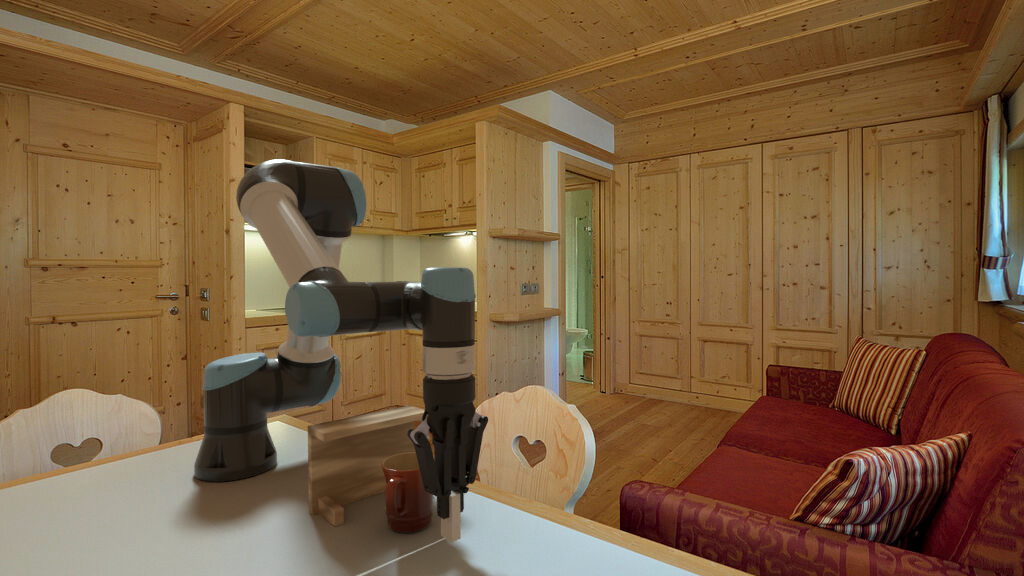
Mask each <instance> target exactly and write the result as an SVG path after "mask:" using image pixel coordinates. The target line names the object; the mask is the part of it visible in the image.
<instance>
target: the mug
mask: <svg viewBox="0 0 1024 576" xmlns="http://www.w3.org/2000/svg"><path fill="white" fill-rule="evenodd" d="M433 457H434V454H433ZM381 466H382V469H383V472H384V476H385V480H386V489H385V491H384V503H385V515H386V522H387V526H388V527H389V528H390V529H391V530H392V531H393V532H396V533H399V534H412V533H413V534H414V533H416V532H419V531H422V530H424V529H425V528H427V527H428V526H429V525H430V524H431V523H432V521H433V520H432V519H433V516H434V495H432V494H430V493H428V492H426V491H425V490H424V486H423V482H422V477H421V473H420V469H419V464H418V460H417V456H416V452H407V453H400V454H396V455H392V456H390V457H387V458H386V459H384V460H383V461H382V463H381Z"/></svg>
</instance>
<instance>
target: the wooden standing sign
mask: <svg viewBox="0 0 1024 576" xmlns="http://www.w3.org/2000/svg"><path fill="white" fill-rule="evenodd" d="M424 411H425V409H423V408H419V407H416V406H413V405H406V406H400V407H396V408H391V409H386V410H381V411H376V412H369V413H366V414H360V415H355V416H350V417H346V418H341V419H335V420H331V421H330V420H329V421H326V422H325V421H324V422H321V423H315V424H311V425H307V469H308V471H307V472H308V473H307V474H308V476H307V478H308V479H307V480H308V482H307V483H308V513H309V514H311V516H314V515H317V514H319V515H320V516H321V517H322V518H323V519H324V520H326V521H327V522H329V523H330V524H331V525H333V526H334V527H338V526H341V525H343V524H345V516H344V515H345V509H344V507H343V506H344V505H348V504H350V503H353V502H357V501H360V500H362V499H366V498H369V497H372V496H375V495H378V494H382V493H385V489H386V480H385V476H384V472H383V469H382V466H381V463H382V461H383V460H384V459H386V458H387V457H390V456H392V455H396V454H400V453H407V452H415V447H414V444H413V443H412V441H411V440H410V438H409V437H408V435H407V433H408V431H409V430H410V429H415V422H417V421H421V420H422V416H423V414H424Z"/></svg>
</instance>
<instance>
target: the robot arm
mask: <svg viewBox="0 0 1024 576" xmlns="http://www.w3.org/2000/svg"><path fill="white" fill-rule="evenodd" d="M366 196H367V195H366V191H365V187H364V185H363V182H362V180H361V178H360V176H359V175H358V174H356V173H355V172H353V171H352V170H349V169H345V168H340V167H337V166H332V165H331V166H330V165H324V164H316V163H309V162H301V161H300V162H299V161H293V160H290V159H289V160H288V159H282V158H281V159H271V160H267V161H263V162H261V163H259V164H256V165H255V166H252V167H251V168H250V169H249V170H248V171H247V172H246V173H245V174H244V175H243V177H242V178H241V179H240V181H239V182H238V185H237V188H236V197H235V199H236V204H237V208H238V211H239V213H240V214H241V216H242V218H243V220H244V221H245V222H246V223H247V224H248V225H249V226H251V227H252V228H254V229H256V231H257V232H258V234H259V236H260V237H261V239H262V241H263V243H264V244H265V246H266V248H267V250H268V251H269V253H270V255H271V256H272V258H273V261H274V263H275V265H276V266H277V268H278V269H279V271H280V272H281V275H282V276H283V279H284V280H285V283H286V285H288V287H289V288H288V290H287V293H286V296H285V300H284V312H285V317H286V321H287V322H286V324H287V326H288V328H287V338H286V341H284V342H282V343H281V344H280V345H279V346H278V349H277V357H271V358H268V356H267V354H266V353H264V352H260V351H259V352H249V353H239V354H235V355H230V356H225V357H222V358H219V359H216V360H214V361H211V362H210V363H208V364H207V365H206V366H205V367H204V370H203V377H202V378H203V379H202V381H203V382H202V386H201V389H202V391H203V397H202V398H203V399H202V400H203V438H202V441H201V444H200V447H199V449H198V452H197V456H196V458H195V462H194V468H193V469H194V470H193V471H194V477H195V479H197V480H199V481H204V482H218V483H219V482H229V481H230V482H231V481H237V480H242V479H247V478H251V477H254V476H258V475H261V474H262V473H266V472H267V471H270V470H271V469H273V468H274V467H275V466H276V465H277V463H278V457H277V456H278V452H277V449H276V446H275V444H274V441H273V438H272V436H271V434H270V430H269V426H268V414H270V413H276V412H282V411H288V410H293V409H294V410H295V409H298V408H305V407H309V408H310V407H316V406H318V405H321V404H325V403H327V402H328V403H329V401H331V400H333V399H334V398H335V396H336V395H337V392H338V391H339V389H340V385H341V380H342V371H341V368H342V364H341V361H340V358H339V356H338V355H337V354H336V353H335V350H334V348H333V347H332V345H331V344H329V342H330V337H333V336H334V337H335V336H342V335H343V336H344V335H353V334H354V335H355V334H364V333H378V332H392V331H403V330H415V331H416V330H417V331H421V332H422V335H421V336H422V372H423V374H425V375H424V378H422V400H423V404H424V410H425V411H424V414H423V416H422V422H420V423H419V424H418V425H417V427H415V428H414V429H410V430H409V431H408V433H407V435H408V437H409V438H410V440H411V441H412V443H413V444H414V447H415V452H416V456H417V460H418V464H419V469H420V473H421V477H422V482H423V486H424V490H425V491H426V492H428V493H430V494H432V495H433V497H436V514H437V517H439V518H440V536H441V537H442V538H445V539H446V540H448V541H449V542H450V543H454V542H457V541H458V540H461V537H462V536H461V513H464V508H465V502H464V501H465V500H464V499H465V494H467V493H468V492H469V490H470V487H468V486H469V485H473V484H474V483H475V482H476V477H477V472H478V465H479V460H480V453H481V448H482V441H483V437H484V435H483V434H484V433H485V429H486V427H487V425H488V423H489V417H488V416H486V415H482V414H480V413H478V412H477V411H476V410H477V409H476V407H475V405H474V401H475V399H476V394H477V393H476V377H475V375H474V374H473V373H474V372H475V370H476V340H475V339H476V329H475V328H476V297H477V294H476V291H475V279H474V278H475V277H474V273H473V271H472V269H470V268H468V267H458V266H456V267H455V266H454V267H452V266H451V267H450V266H447V267H446V266H445V267H444V266H443V267H441V266H440V267H427V268H424V269H423V270H422V273H421V281H410V280H409V281H408V280H397V281H349V280H348V279H347V277H346V276H345V275H344V274H343V272H342V271H341V269H340V262H341V254H342V253H341V252H342V246H343V243H344V242H345V241H347V240H348V239H350V238H351V236H352V229H353V227H354V228H356V227H358V226H360V225H362V223H363V221H364V220H365V217H366V214H367V197H366ZM429 433H430V434H431V436H432V437H431V436H430V435H429ZM431 438H432V439H431ZM430 439H431V443H432V445H433V447H434V448H432V445H431V443H430ZM433 450H434V453H433ZM433 455H434V457H433Z"/></svg>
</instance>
